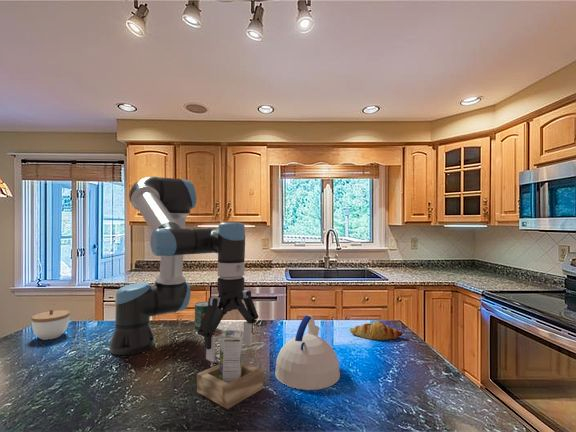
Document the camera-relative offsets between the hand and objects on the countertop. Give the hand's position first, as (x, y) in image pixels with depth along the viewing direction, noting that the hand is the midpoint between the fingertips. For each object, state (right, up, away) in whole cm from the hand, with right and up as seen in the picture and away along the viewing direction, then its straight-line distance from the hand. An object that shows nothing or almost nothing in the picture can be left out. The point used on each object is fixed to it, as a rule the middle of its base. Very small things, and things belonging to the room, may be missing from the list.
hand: (230, 352), depth 90 cm
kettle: (+23, -11, +10) cm, 27 cm away
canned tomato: (-21, -12, +51) cm, 57 cm away
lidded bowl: (-81, -11, +41) cm, 91 cm away
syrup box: (0, -9, 0) cm, 9 cm away
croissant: (+53, -12, +43) cm, 69 cm away
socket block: (0, -10, 0) cm, 11 cm away
